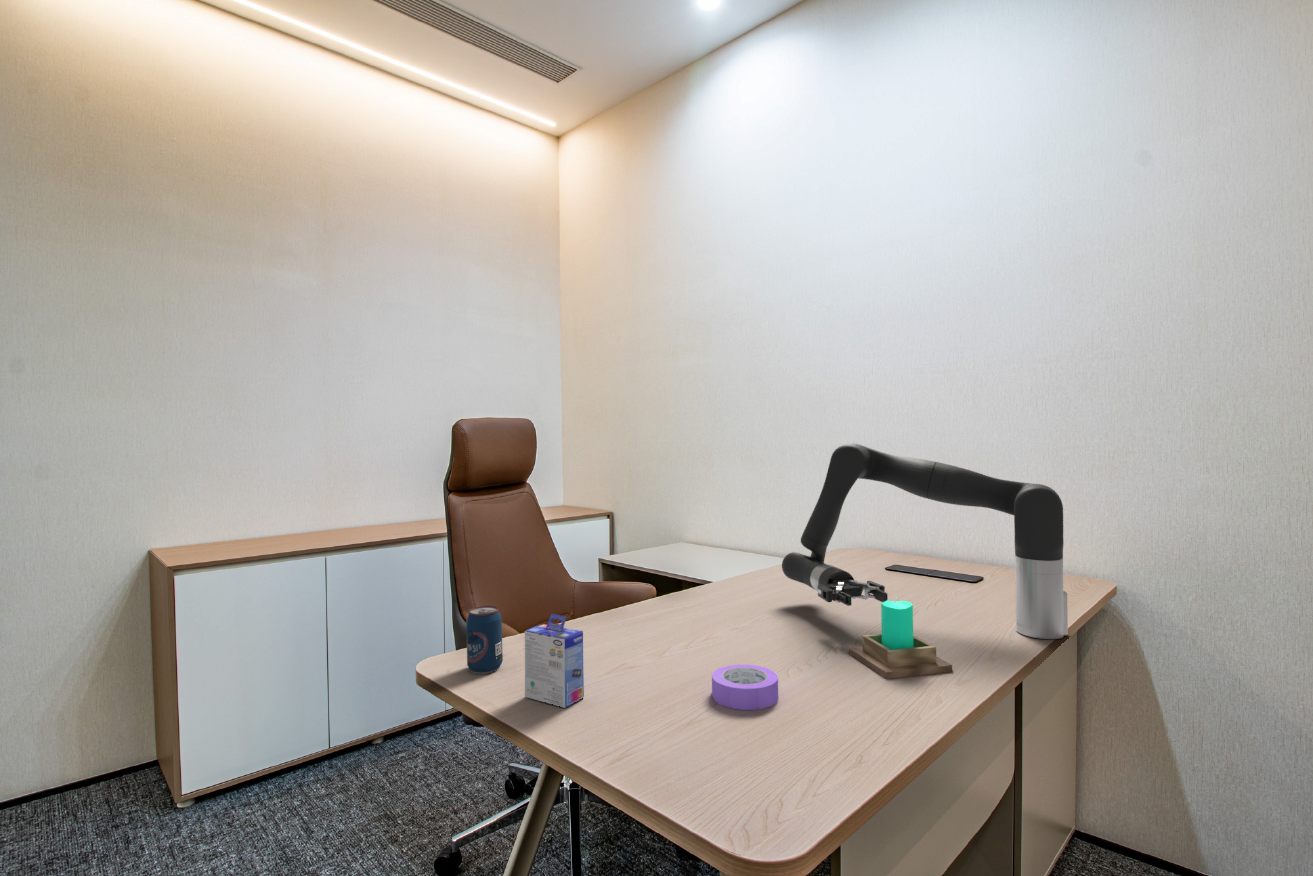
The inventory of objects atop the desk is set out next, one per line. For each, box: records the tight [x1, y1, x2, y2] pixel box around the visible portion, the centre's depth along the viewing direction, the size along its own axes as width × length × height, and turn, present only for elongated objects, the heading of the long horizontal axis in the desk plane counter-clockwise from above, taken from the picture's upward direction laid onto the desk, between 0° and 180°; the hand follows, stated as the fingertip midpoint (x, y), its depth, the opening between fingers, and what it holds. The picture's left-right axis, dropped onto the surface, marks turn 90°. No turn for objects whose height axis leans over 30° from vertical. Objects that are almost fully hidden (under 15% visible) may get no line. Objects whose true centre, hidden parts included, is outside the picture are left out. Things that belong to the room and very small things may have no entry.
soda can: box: [465, 605, 504, 675], centre depth 128 cm, size 7×7×12 cm
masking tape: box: [711, 663, 779, 711], centre depth 113 cm, size 12×12×4 cm
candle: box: [880, 595, 914, 650], centre depth 127 cm, size 6×6×12 cm
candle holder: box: [848, 633, 953, 680], centre depth 127 cm, size 14×14×4 cm
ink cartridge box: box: [524, 613, 585, 709], centre depth 114 cm, size 10×6×14 cm, turn 58°
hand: (868, 599), depth 138 cm, fingers open, 8 cm apart
